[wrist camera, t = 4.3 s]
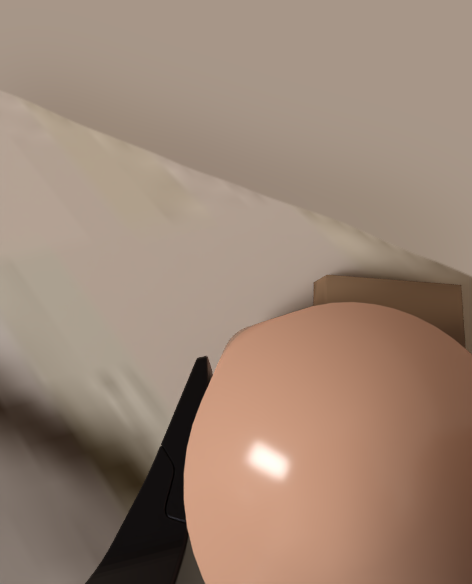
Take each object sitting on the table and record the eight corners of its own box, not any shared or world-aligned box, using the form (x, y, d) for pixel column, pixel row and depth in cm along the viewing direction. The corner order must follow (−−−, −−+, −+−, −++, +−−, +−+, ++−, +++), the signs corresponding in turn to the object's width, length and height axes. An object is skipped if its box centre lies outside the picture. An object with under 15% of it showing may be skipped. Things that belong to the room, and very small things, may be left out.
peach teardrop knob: (251, 420, 16) (337, 806, 3) (206, 354, 16) (115, 436, 4) (312, 372, 16) (613, 521, 3) (267, 310, 17) (379, 241, 4)
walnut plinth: (435, 414, 20) (470, 429, 17) (310, 405, 20) (324, 418, 17) (429, 291, 21) (461, 285, 18) (313, 282, 21) (327, 274, 18)
